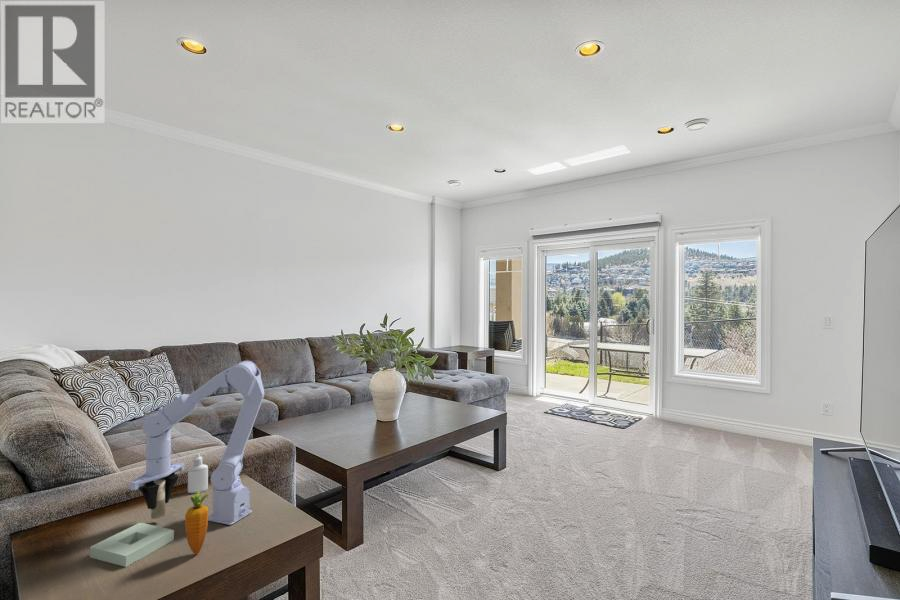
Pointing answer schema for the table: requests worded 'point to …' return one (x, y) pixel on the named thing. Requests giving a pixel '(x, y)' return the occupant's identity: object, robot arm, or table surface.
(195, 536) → the carrot
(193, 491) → the eye dropper bottle
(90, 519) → the table surface
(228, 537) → the table surface
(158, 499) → the ash wood peg
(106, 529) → the table surface
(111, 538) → the hole block
